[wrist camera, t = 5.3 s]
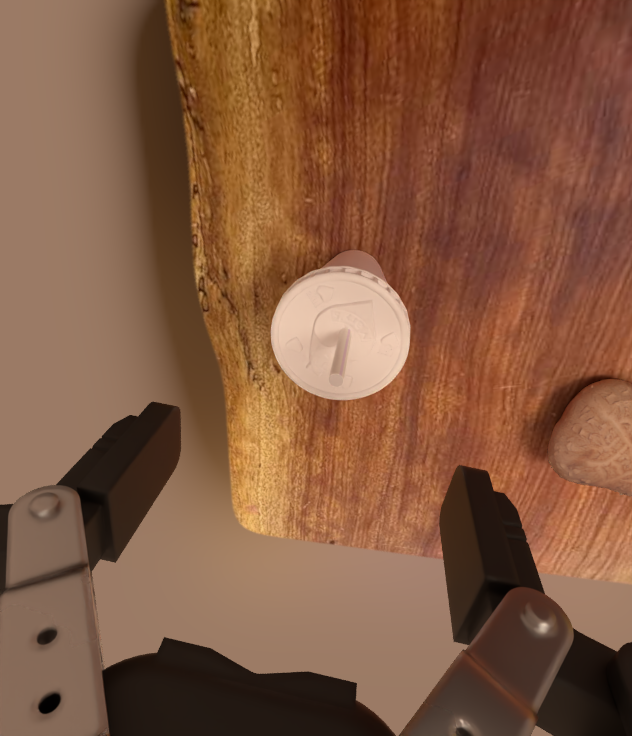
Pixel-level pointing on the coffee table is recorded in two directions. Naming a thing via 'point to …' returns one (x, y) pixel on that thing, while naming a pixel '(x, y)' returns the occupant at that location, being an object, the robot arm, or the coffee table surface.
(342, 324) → the smoothie
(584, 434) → the mushroom
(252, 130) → the coffee table surface
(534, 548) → the coffee table surface
